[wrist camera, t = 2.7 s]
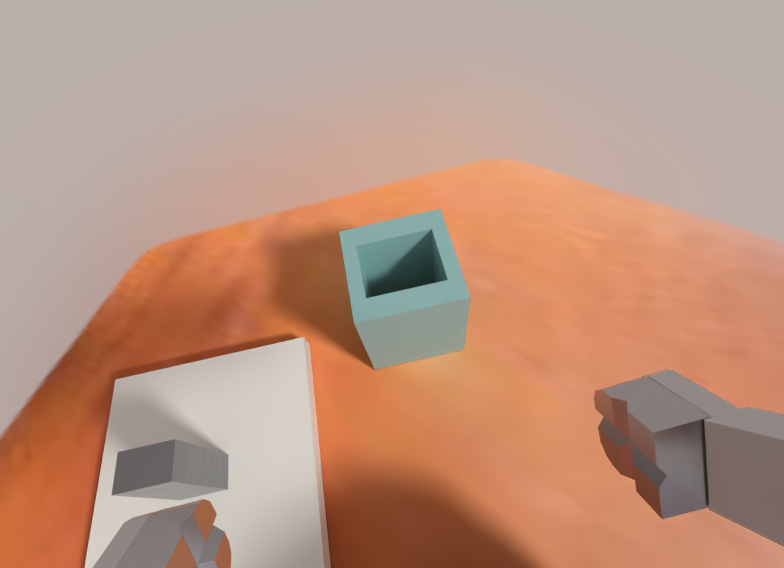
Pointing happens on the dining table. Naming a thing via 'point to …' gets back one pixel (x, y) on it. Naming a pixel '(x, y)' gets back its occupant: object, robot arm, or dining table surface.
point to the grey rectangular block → (170, 471)
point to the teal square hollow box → (405, 289)
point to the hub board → (230, 451)
